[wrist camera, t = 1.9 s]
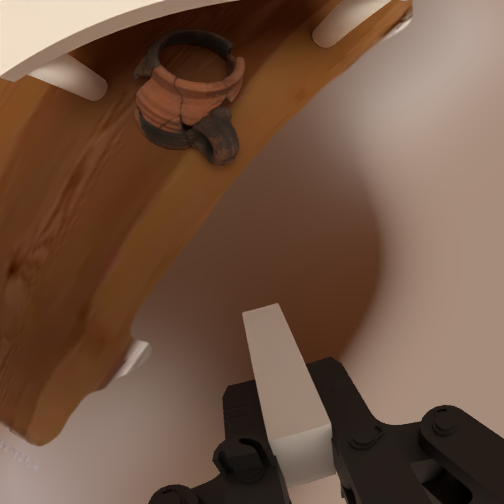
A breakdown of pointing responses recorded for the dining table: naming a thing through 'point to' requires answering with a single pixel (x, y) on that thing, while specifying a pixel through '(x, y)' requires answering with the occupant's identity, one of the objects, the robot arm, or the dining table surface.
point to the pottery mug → (189, 100)
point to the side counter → (104, 23)
